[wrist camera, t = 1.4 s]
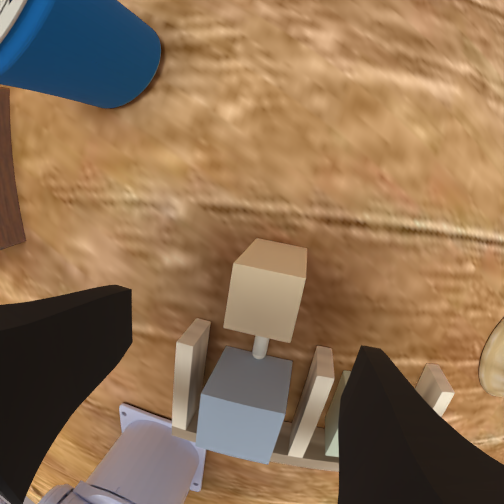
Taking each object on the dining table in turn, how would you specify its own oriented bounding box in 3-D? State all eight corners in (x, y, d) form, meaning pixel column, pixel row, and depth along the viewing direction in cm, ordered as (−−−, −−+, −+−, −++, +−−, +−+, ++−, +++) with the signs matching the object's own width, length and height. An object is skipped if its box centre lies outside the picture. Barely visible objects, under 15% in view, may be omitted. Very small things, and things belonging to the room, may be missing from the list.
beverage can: (183, 37, 17) (71, -62, 6) (137, 122, 19) (-13, 89, 7) (114, 20, 17) (1, -45, 6) (75, 96, 19) (-58, 69, 8)
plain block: (380, 424, 21) (388, 460, 17) (325, 417, 21) (325, 455, 17) (403, 377, 20) (416, 412, 16) (343, 369, 20) (348, 405, 16)
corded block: (278, 410, 21) (266, 470, 16) (218, 395, 22) (192, 451, 16) (320, 250, 19) (324, 282, 13) (244, 235, 19) (216, 259, 13)
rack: (395, 444, 21) (402, 475, 17) (187, 406, 23) (171, 434, 19) (438, 364, 19) (454, 392, 15) (196, 317, 21) (176, 341, 18)
